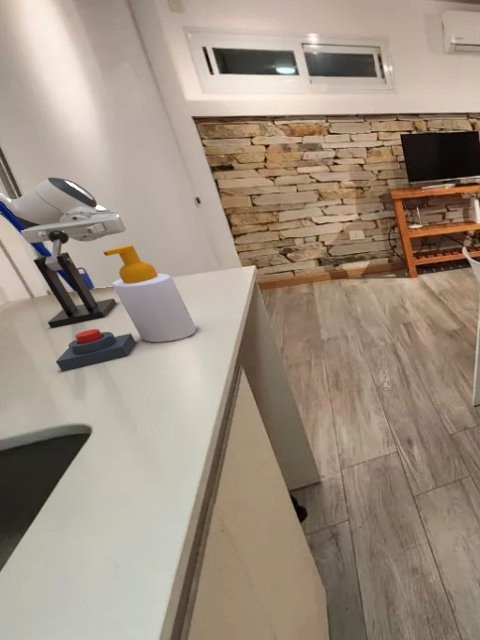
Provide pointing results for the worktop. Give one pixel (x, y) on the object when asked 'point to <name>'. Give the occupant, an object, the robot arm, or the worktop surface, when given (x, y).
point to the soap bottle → (151, 299)
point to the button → (88, 336)
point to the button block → (95, 351)
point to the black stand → (70, 311)
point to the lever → (56, 249)
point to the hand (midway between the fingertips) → (67, 233)
